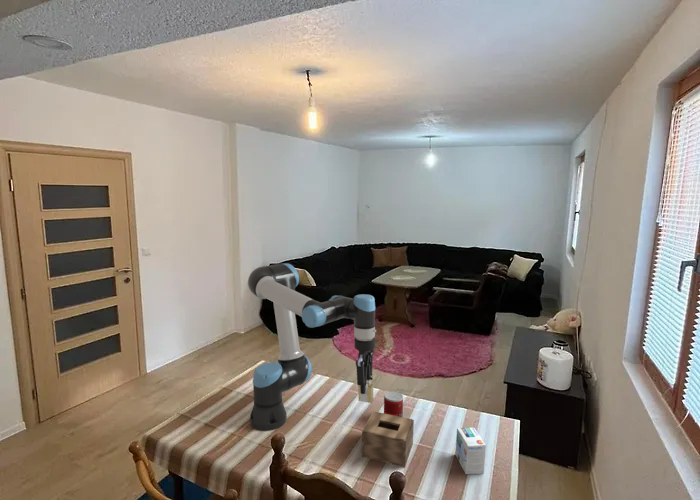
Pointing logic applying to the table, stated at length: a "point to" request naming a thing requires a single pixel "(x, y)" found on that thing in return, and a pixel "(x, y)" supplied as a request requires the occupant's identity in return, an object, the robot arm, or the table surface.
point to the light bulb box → (470, 450)
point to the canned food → (393, 404)
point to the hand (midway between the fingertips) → (365, 398)
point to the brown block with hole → (387, 438)
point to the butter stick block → (369, 392)
